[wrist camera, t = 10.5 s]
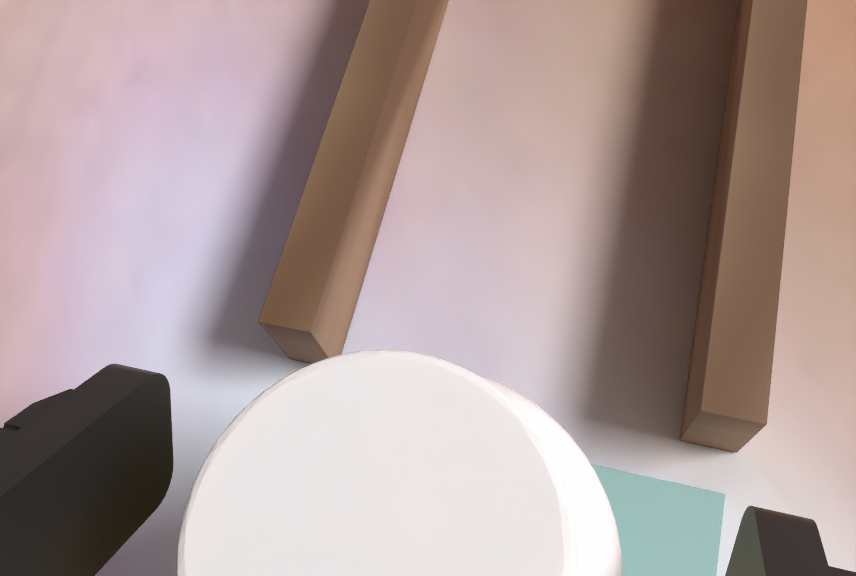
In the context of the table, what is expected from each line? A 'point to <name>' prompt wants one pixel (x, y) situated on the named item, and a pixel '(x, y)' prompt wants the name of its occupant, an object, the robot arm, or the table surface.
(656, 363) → the table surface
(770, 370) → the chute
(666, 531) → the pad
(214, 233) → the table surface
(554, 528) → the supplement bottle
